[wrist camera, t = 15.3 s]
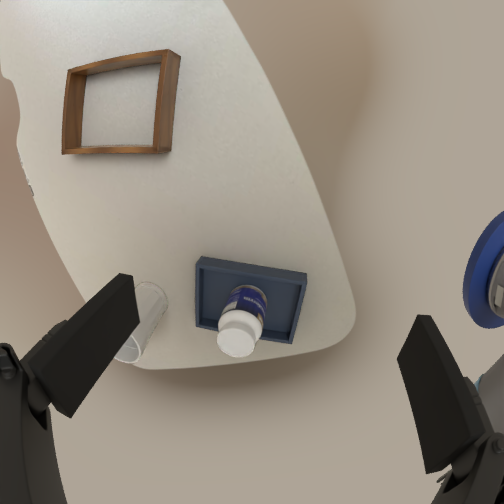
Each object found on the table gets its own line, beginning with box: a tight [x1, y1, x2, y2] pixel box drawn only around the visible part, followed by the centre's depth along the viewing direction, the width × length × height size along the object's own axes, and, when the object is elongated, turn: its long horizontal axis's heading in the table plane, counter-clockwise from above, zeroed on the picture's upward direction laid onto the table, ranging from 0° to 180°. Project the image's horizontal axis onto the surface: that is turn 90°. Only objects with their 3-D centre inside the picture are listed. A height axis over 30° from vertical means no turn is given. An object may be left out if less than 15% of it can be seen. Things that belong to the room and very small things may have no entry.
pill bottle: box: [217, 285, 267, 357], centre depth 36 cm, size 6×6×10 cm
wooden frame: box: [62, 49, 181, 155], centre depth 31 cm, size 18×14×4 cm
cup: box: [114, 282, 168, 363], centre depth 39 cm, size 8×8×12 cm
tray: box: [195, 256, 307, 344], centre depth 40 cm, size 15×11×3 cm
